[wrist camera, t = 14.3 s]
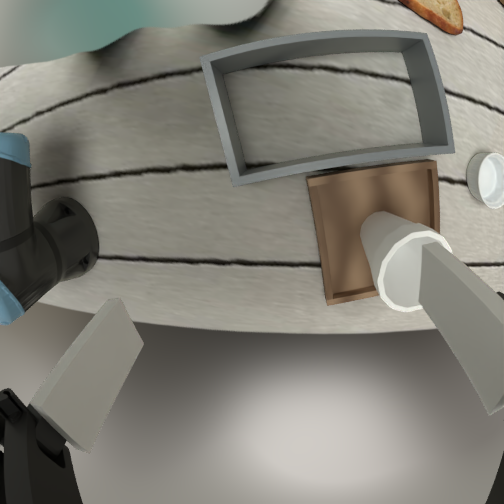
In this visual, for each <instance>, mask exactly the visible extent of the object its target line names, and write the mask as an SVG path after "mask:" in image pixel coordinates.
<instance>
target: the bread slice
mask: <svg viewBox="0 0 504 504" xmlns="http://www.w3.org/2000/svg"><path fill="white" fill-rule="evenodd" d="M398 1H400V2H402V3H403V4H404V5H406V6H407V7H408V8H410V9H412V10H413V11H415V12H416V13H417V14H418V15H420V16H422V17H423V18H425V19H427V20H429V21H430V22H432V23H433V24H435V25H436V26H438V27H439V28H441V29H442V30H444V31H446V32H448V33H450V34H454V35H457V34H461V33H462V31H463V16H462V11H461V8H460V6H459V4H458V1H457V0H398Z"/></svg>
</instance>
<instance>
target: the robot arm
mask: <svg viewBox="0 0 504 504" xmlns="http://www.w3.org/2000/svg"><path fill="white" fill-rule="evenodd" d="M30 168H31V164H30V149H29V141H28V139H27V137H26V136H25V135H23V134H19V133H0V324H1V325H9V324H11V323H12V322H13V321H14V320H16V319H17V318H18V317H20V316H22V315H24V313H25V312H26V311H27V310H28V309H29V308H30V307H31V306H32V305H33V304H34V303H35V302H37V301H38V300H39V299H40V298H41V297H42V296H43V295H45V294H46V293H47V292H48V291H49V290H50V289H52V288H53V287H54V286H55V285H56V284H58V283H59V282H62V281H66V280H70V279H73V278H77V277H80V276H82V275H84V274H85V273H86V272H87V271H89V270H90V269H91V268H92V267H93V266H94V264H95V262H96V260H97V256H98V249H99V245H98V237H97V232H96V229H95V226H94V224H93V221H92V219H91V218H90V216H89V214H88V213H87V211H86V210H85V209H84V208H83V207H82V206H81V205H80V204H79V203H78V202H76V201H75V200H73V199H70V198H67V197H61V198H57V199H55V200H52V201H50V202H48V203H47V204H46V205H44V206H43V208H42V209H41V210H40V211H39V212H38V213H37V214H36V215H35V216H34V217H33V214H32V203H31V183H30ZM418 302H419V303H420V304H421V306H422V307H423V309H424V310H425V311H426V313H427V314H428V316H429V317H430V318H431V320H432V321H433V323H434V324H435V326H436V327H437V328H438V330H439V331H440V333H441V334H442V336H443V337H444V339H445V340H446V342H447V343H448V345H449V346H450V348H451V350H452V351H453V353H454V354H455V356H456V358H457V359H458V361H459V362H460V364H461V366H462V367H463V369H464V371H465V372H466V374H467V376H468V378H469V379H470V381H471V383H472V384H473V386H474V388H475V390H476V392H477V394H478V395H479V397H480V399H481V401H482V403H483V405H484V407H485V409H486V411H487V412H488V415H489V416H490V415H492V414H493V413H495V412H496V411H498V410H500V409H502V408H503V407H504V294H503V293H501V292H497V293H496V292H495V291H494V290H493V289H492V288H491V287H490V286H489V285H487V284H486V283H485V282H484V281H483V280H482V279H481V278H480V277H479V276H478V275H476V274H475V273H474V272H473V271H472V270H471V269H470V268H468V267H467V266H466V265H465V264H464V263H463V262H461V261H460V260H459V259H458V258H457V257H455V256H454V255H453V254H452V253H450V252H449V251H448V250H447V249H445V248H444V247H443V246H442V245H440V244H439V243H438V242H433V243H428V244H424V245H422V260H421V277H420V289H419V299H418ZM143 345H144V343H143V341H142V339H141V337H140V336H139V334H138V332H137V330H136V328H135V326H134V324H133V322H132V320H131V318H130V316H129V314H128V312H127V310H126V308H125V306H124V304H123V302H122V300H121V298H116V299H108V300H107V302H106V303H105V304H104V305H103V306H102V308H101V309H100V310H99V311H98V312H97V313H96V315H95V316H94V317H93V318H92V320H91V321H90V322H89V323H88V324H87V326H86V327H85V328H84V329H83V331H82V332H81V333H80V334H79V336H78V337H77V338H76V339H75V341H74V342H73V343H72V344H71V346H70V347H69V348H68V350H67V351H66V353H65V354H64V355H63V356H62V358H61V359H60V360H59V362H58V363H57V364H56V366H55V367H54V368H53V370H52V371H51V372H50V374H49V375H48V377H47V378H46V379H45V381H44V382H43V384H42V385H41V386H40V388H39V389H38V391H37V392H36V394H35V395H34V397H33V398H32V400H31V401H30V404H29V405H28V407H26V406H25V405H24V404H23V403H22V402H21V400H20V399H19V398H18V397H17V396H16V395H15V393H14V392H13V391H12V390H11V389H9V388H7V389H4V390H2V391H0V444H1V445H2V446H3V447H4V453H3V452H2V451H0V504H83V503H82V499H81V496H80V493H79V489H78V486H77V482H76V478H75V474H74V470H73V465H72V461H71V456H70V452H69V449H68V447H67V446H65V443H66V441H68V442H69V443H70V444H71V445H72V446H74V447H75V448H76V449H78V450H81V451H84V452H86V453H90V452H91V449H92V447H93V445H94V442H95V441H96V438H97V436H98V434H99V432H100V430H101V428H102V425H103V423H104V421H105V419H106V417H107V415H108V413H109V411H110V409H111V407H112V405H113V403H114V401H115V399H116V397H117V395H118V393H119V391H120V389H121V387H122V385H123V383H124V381H125V379H126V377H127V375H128V373H129V371H130V369H131V368H132V366H133V364H134V362H135V360H136V358H137V356H138V354H139V353H140V351H141V349H142V347H143ZM485 504H504V453H503V456H502V459H501V463H500V466H499V469H498V472H497V475H496V478H495V481H494V484H493V486H492V489H491V491H490V494H489V496H488V499H487V501H486V503H485Z"/></svg>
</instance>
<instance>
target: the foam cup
mask: <svg viewBox="0 0 504 504" xmlns="http://www.w3.org/2000/svg"><path fill="white" fill-rule="evenodd" d="M360 237H361V241H362V244H363V248H364V250H365V253H366V256H367V259H368V262H369V265H370V268H371V273H372V277H373V281H374V286H375V288H376V290H377V292H378V294H379V295H380V297H381V299H382V300H383V301H384V302H385V303H386V304H387V305H388V306H389V307H390V308H391V309H394V310H398V311H402V312H410V311H414V310H419V309H422V308H423V307H422V306H421V304H420V303H419V302H418V299H419V289H420V277H421V260H422V245H424V244H428V243H433V242H438V243H439V244H440V245H442V246H443V247H444V248H445V249H447V250H448V251H449V252H450V253H452V249H451V248H450V246H449V244H448V243H447V241H446V240H445V238H444V237H443V236H442V235H441V234H439V233H438V232H436V231H435V230H434V229H432V228H429V227H427V226H425V225H423V224H420V223H413V222H411V221H408V220H406V219H403V218H401V217H398V216H396V215H393V214H391V213H388V212H385V211H381V212H375V213H373V214H371V215H370V216H368V217H367V218H366V220H365V221H364V223H363V224H362V226H361V232H360Z"/></svg>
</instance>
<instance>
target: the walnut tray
mask: <svg viewBox="0 0 504 504" xmlns="http://www.w3.org/2000/svg"><path fill="white" fill-rule="evenodd" d="M306 181H307V186H308V191H309V196H310V201H311V207H312V212H313V218H314V224H315V229H316V235H317V242H318V248H319V254H320V261H321V268H322V275H323V283H324V290H325V298H326V302H327V306H329V305H334V304H339V303H344V302H349V301H354V300H359V299H364V298H369V297H374V296H378V295H379V294H378V292H377V290H376V288H375V286H374V281H373V277H372V273H371V268H370V265H369V262H368V259H367V256H366V253H365V250H364V248H363V244H362V241H361V237H360V232H361V226H362V224H363V223H364V221H365V220H366V218H367V217H368V216H370V215H371V214H373V213H375V212H381V211H385V212H388V213H391V214H393V215H396V216H398V217H401V218H403V219H406V220H408V221H411V222H413V223H420V224H423V225H425V226H427V227H429V228H432V229H434V230H435V231H436V232H438V233H439V234H440V205H439V185H438V172H437V162H436V161H434V160H429V159H426V160H416V161H407V162H398V163H390V164H382V165H375V166H368V167H361V168H354V169H348V170H341V171H335V172H329V173H323V174H318V175H312V176H306Z"/></svg>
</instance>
